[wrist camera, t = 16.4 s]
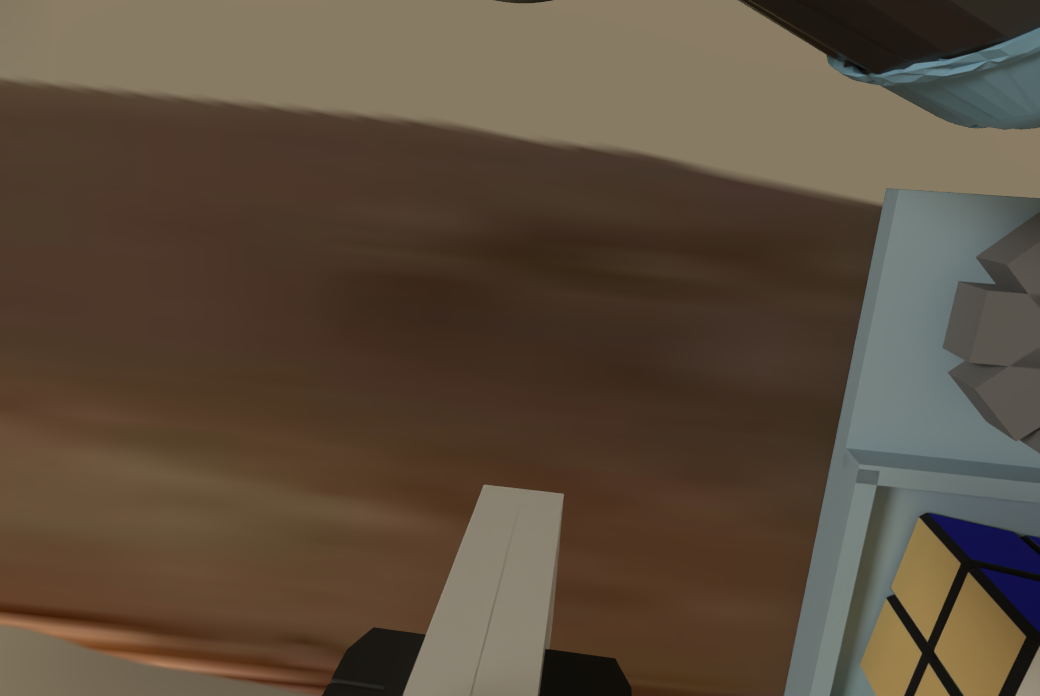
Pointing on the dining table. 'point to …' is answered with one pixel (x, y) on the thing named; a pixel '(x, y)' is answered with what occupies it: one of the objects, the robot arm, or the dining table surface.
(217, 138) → the dining table surface
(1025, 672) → the puzzle cube
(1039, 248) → the wheel
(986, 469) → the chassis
